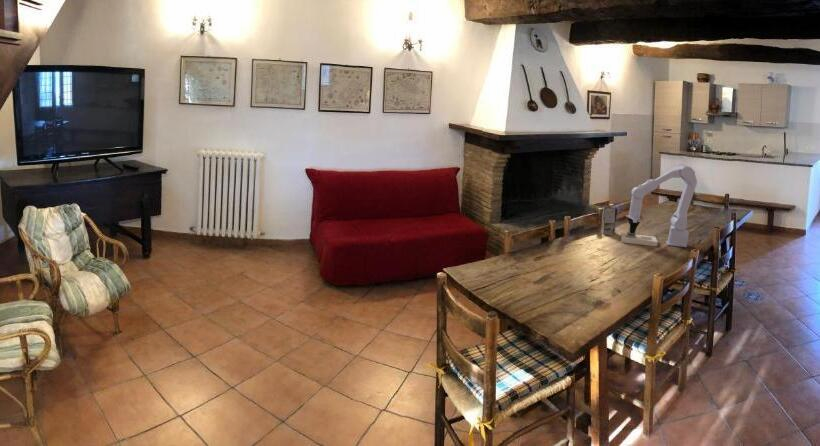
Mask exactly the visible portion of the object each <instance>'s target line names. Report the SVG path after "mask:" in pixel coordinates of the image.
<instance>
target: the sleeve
mask: <svg viewBox="0 0 820 446" xmlns="http://www.w3.org/2000/svg"><path fill="white" fill-rule="evenodd" d="M626 234H627V235H630V236H635V235H637V229H636V230H635V233H630V224H629V223H628V230H627V233H626Z"/></svg>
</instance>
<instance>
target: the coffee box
mask: <svg viewBox="0 0 820 446" xmlns="http://www.w3.org/2000/svg"><path fill="white" fill-rule="evenodd" d="M602 209H603V211H602V216H601V217H602V218H601V224H600V232H601V234H602V235H604V236H611V237H613V236H615V230H616V229H615V228H616V221H617V216H618V210H619V209H618V208H617V206H615V205H610V204H609V205H608V204H605V205H603V208H602Z"/></svg>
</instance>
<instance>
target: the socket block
mask: <svg viewBox="0 0 820 446" xmlns="http://www.w3.org/2000/svg"><path fill="white" fill-rule="evenodd" d="M627 234H628V233H625V232H621V233H620V241H621V243H623V244H624V243H626V244H632V245H642V246H650V247H658V240H657V238H656V236H651V235H644V234H642V235H641V234H636V235H635V236H630V235H627Z"/></svg>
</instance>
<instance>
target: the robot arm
mask: <svg viewBox="0 0 820 446" xmlns="http://www.w3.org/2000/svg"><path fill="white" fill-rule="evenodd" d="M673 178H675V179H677V178H678V179H680V178H681V179H682V181H683V182H684V183H685V184H684V186H683V189H682V192H681V195H680V199H679V201H678V204H677V205H678V206H677V208H676V211H675V212H673V215H672V216H671V217H670V219H669V224H670V227H669V233H668V238H667V240H665V242H666V244H667V245H668V246H673V247H674V246H675V247H679V248H680V247H681V248H682V247H683V248H687V247H688V241H689V235H690V232H689V230H687V229H686V228H688V222H687V221H688V211H689V207H690V205H691V202H692V199H693V196H694V193H695V189H696V186H697V184H698V181H697V178H696V171H695V170H694V169H693V168H692V167H691V166H688V165H686V164H683V163H681V164H678V165H677V166H674V167H672V168H671V169H669V170H668V171H667V172H664V173H663V174H662V175H660V176H659V177H657V178H655V179H652V178H651V179H647V180H646V181H645V182H644V183H642V184H638V186H635V187H633V188H632V190H630V194H631V198H630V199H631V200H630V205H629V212H628V215H627V214H626V218H627V221H628V225H629V224H630V233H635V230H636V231H637V228H638V226H639V225H640V223H641V222H640V221H639V220H640V219H641V212H642V206H643V199H644V197H645V195H647V194H649V193H650V192H653V191H654V190H655V189H658V187H659V185H660V184H662V183H664V182H666V181H669V180H670V179H673Z"/></svg>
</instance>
